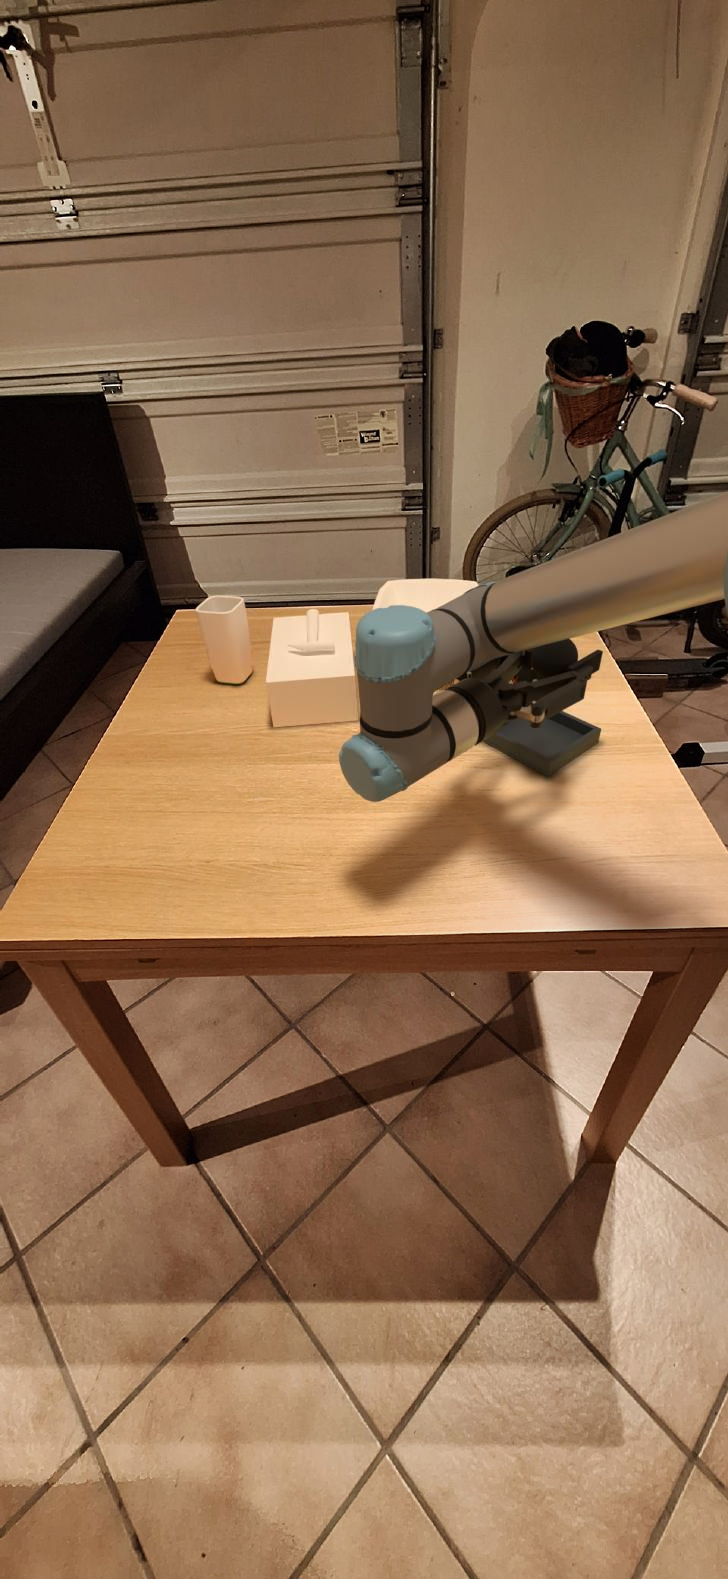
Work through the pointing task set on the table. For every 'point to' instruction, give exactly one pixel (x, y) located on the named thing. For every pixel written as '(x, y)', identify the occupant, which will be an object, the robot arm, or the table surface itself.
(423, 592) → the bowl
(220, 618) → the cup
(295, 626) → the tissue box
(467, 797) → the table surface
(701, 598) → the robot arm
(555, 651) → the light bulb
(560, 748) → the slate tray
